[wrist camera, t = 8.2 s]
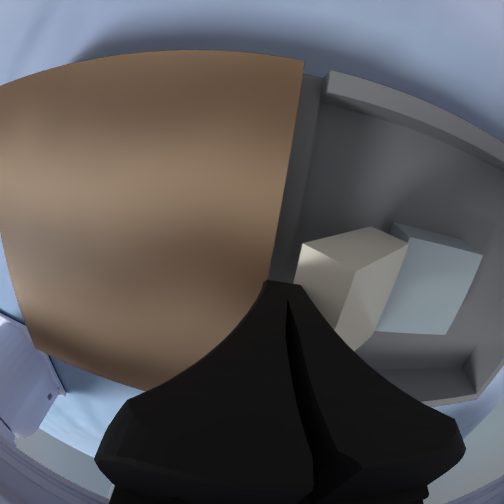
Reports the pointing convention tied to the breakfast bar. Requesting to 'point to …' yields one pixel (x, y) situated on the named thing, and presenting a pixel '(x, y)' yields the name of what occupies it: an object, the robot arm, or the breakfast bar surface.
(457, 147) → the bin
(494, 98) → the breakfast bar surface
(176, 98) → the tan wooden board
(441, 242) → the blue grey tile
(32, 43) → the breakfast bar surface
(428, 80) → the breakfast bar surface
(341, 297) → the cream tile
